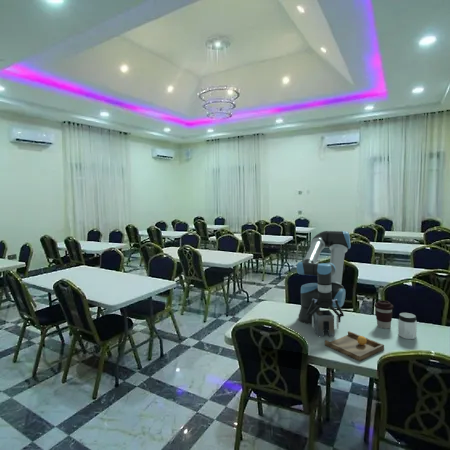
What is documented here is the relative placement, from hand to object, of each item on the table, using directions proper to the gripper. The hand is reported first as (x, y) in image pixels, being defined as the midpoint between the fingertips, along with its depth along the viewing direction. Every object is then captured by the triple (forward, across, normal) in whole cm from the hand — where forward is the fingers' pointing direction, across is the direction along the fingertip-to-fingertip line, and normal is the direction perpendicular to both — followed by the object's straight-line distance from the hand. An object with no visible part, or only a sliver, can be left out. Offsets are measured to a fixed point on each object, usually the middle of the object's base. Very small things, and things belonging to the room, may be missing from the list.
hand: (325, 327), depth 184 cm
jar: (+5, +44, +4) cm, 45 cm away
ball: (+1, +18, -11) cm, 21 cm away
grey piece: (+4, 0, +2) cm, 5 cm away
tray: (+4, +13, -14) cm, 20 cm away
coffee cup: (+5, +35, +16) cm, 39 cm away
